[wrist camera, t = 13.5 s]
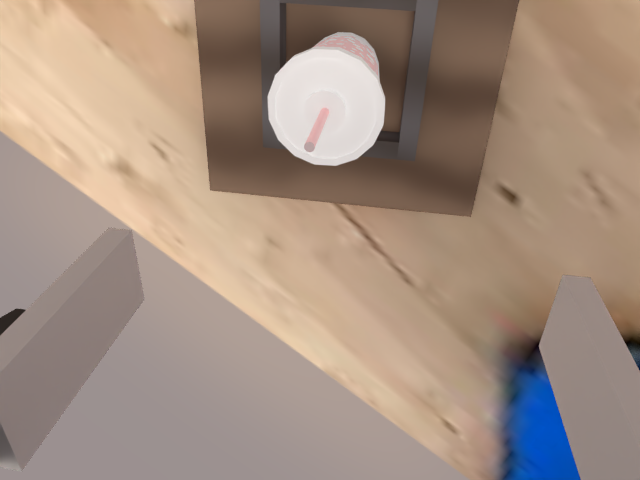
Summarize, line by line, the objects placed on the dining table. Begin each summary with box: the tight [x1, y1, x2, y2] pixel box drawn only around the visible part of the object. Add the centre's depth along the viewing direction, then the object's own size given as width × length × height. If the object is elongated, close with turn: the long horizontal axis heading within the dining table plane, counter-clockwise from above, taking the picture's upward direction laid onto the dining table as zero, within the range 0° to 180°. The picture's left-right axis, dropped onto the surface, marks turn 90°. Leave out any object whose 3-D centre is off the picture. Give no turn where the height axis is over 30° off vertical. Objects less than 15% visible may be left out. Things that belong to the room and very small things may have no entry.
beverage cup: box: [268, 32, 385, 166], centre depth 28 cm, size 6×6×14 cm
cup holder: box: [194, 0, 519, 217], centre depth 33 cm, size 20×20×3 cm
